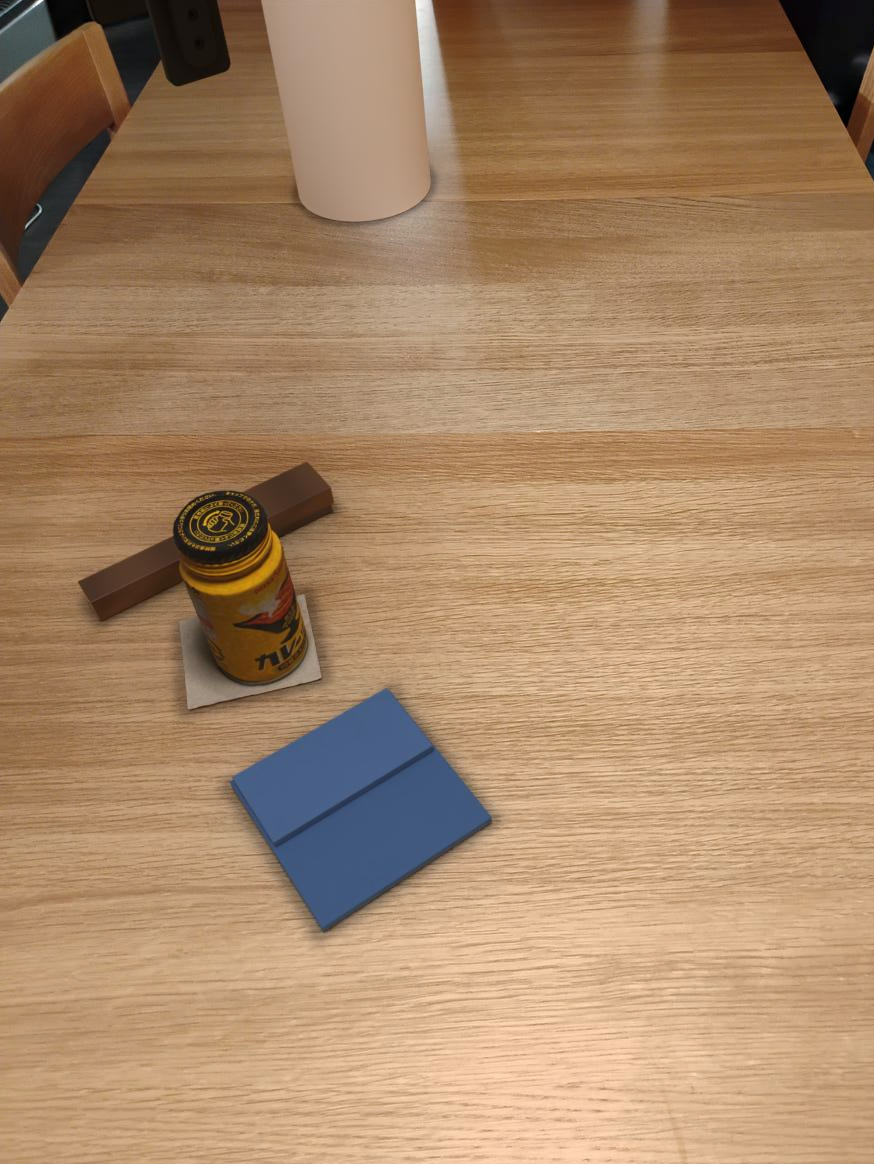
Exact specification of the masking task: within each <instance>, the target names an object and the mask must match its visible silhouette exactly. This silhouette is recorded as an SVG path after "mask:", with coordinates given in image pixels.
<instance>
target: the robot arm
mask: <svg viewBox="0 0 874 1164" xmlns="http://www.w3.org/2000/svg"><path fill="white" fill-rule="evenodd" d="M85 4H86V7H87V10H88V13H89V16H90V18H91V19H92V21H93V22H95V23H96V24H97V25H99V26H104V25H105V26H106V25H108V24H110V23H114V22H118V21H122V20H125V19H128V18H132V17H136V16H139V15H143V14H146V13H148V15H149V16H148V17H149V19H150V23H151V27H152V31H153V34H154V39H155V42H156V46H157V50H158V53H159V57H160V61H161V64H162V68H163V72H164V75H165V78H166V80H167V81H168V82H169V83H170V84H171V85H173V86H174V87H182V86H185V85H188V84H192V83H195V82H198V81H202V80H204V79H207V78H211V77H213V76H216V75H220V74H224V73H227V71H229V70H230V68H231V63H232V62H231V58H230V52H229V49H228V48H229V47H228V43H227V40H226V35H225V29H224V26H223V22H222V17H221V13H220V7H219V2H218V0H85Z"/></svg>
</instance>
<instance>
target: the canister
mask: <svg viewBox="0 0 874 1164" xmlns="http://www.w3.org/2000/svg"><path fill="white" fill-rule="evenodd" d="M416 2H417V1H416V0H261V7H262V12H263V17H264V22H265V28H266V33H267V38H268V43H269V48H270V53H271V58H272V63H273V69H274V74H275V79H276V85H277V90H278V95H279V101H280V105H281V110H282V116H283V121H284V126H285V132H286V136H287V142H288V148H289V152H290V157H291V163H292V167H293V173H294V178H295V183H296V189H297V194H298V199H299V201H300V203H301V204H302V205H303V207H304V208H305V209H306V210H307V211H309V212H310V213H312V214H314V215H316V216H319V217H322V218H325V219H329V220H332V221H338V222H339V221H340V222H350V223H351V222H352V223H354V222H355V223H357V222H359V223H360V222H370V221H377V220H382V219H387V218H391V217H394V216H397V215H399V214H402V213H404V212H406V211H408V210H410V209H412V208H414V207H415V206H417V205H418V204H420V203H421V202H422V201H423V200H424V199H425V197H426V196H427V195H428V194H429V192H430V189H431V185H432V184H431V183H432V181H431V168H430V158H429V157H430V156H429V145H428V134H427V122H426V111H425V99H424V87H423V74H422V63H421V50H420V39H419V27H418V16H417V15H418V14H417V3H416Z"/></svg>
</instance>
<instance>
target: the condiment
mask: <svg viewBox="0 0 874 1164" xmlns="http://www.w3.org/2000/svg"><path fill="white" fill-rule="evenodd" d="M243 492H244V491H238V490H232V489H231V490H230V489H229V490H214V491H210V492H206V493H203V494H200V495H198V496H196V497H195V498H193V499H191V500H189V502H188V503H187V504H186V505H185V506H184V507H183V508H182V509H181V510H180V512H179V513H178V514H177V516H176V518H175V519H174V521H173V525H172V536H173V538H174V542H175V545H176V546H177V548H178V554H179V557H180V559H179V570H180V574H181V577H182V579H183V581H182V582H183V584H184V586H185V588H186V593H187V595H188V597H189V599H190V601H191V604H192V606H193V608H194V611H195V613H196V617H191V618H187V619H181V620H178V629H179V636H180V644H181V653H182V662H183V671H184V683H185V693H186V703H187V710H192V709H197V708H200V707H203V706H211V705H214V704H217V703H219V702H220V703H221V702H227V701H230V700H234V699H238V698H244V697H248V696H253V695H259V694H264V693H268V692H272V691H275V690H281V689H285V688H290V687H294V686H297V685H299V684H306V683H311V682H314V681H317V680H319V679H322V672H321V667H320V662H319V661H320V660H319V658H318V652H317V647H316V641H315V638H314V635H313V634H314V633H313V628H312V623H311V619H310V618H311V617H310V614H309V609H308V605H307V600H306V594H299V595H297V593H296V590H295V587H294V584H293V581H292V577H291V576H292V575H291V573H290V570H289V568H290V567H289V566H288V562H287V560H286V556H285V550H284V546H283V544H282V542H281V540H280V538H278V536H277V535H276V533H274V532H273V531H272V530H271V527H270V525H269V523H268V520H267V515H266V513H265V510H264V508H263V507H262V506H261V505H260V504H259V503H258V501H257V500H256V499H254V498H253V497H251V496H249V495H247V494H245V493H243Z"/></svg>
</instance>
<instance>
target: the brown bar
mask: <svg viewBox="0 0 874 1164" xmlns="http://www.w3.org/2000/svg"><path fill="white" fill-rule="evenodd" d="M242 492H243V493H245V494H247V495H249V496H251V497H253V498H254V499H256V500H257V501H258V503H259V504H260V505H261V506H262V507H263V508H264V510H265V513H266V515H267V520H268V523H269V525H270V527H271V530H272V531H273V532H274V533H276V535H277V536H278V538H279V539H280V538H281V537H284V536H286V535H288V534H290V533H292V532H294V531H296V530H298V529H300V528H302V527H304V526H306V525H308V524H310V523H312V522H314V521H316V520H318V519H320V518H322V517H324V516H326V515H328V514H330V513H332V512H333V506H332V505H333V504H335V500H334V496H333V491H332V487H331V486H330V485H329V484H328V483H327V481H326V480H325V479H324V478H323V477H322V476H321V474H320V473H319V472H318V471H317V470H316V469H315V468H314V467H313V466H312V465H311V464H310V462H309V461H304V462H303V463H301V464H299V465H296V466H295V467H292V468H290V469H288V470H286V471H283V472H281V473H279V474H278V475H275V476H273V477H270V478H269V479H267V480H265V481H262V482H261V483H258V484H255V485H254V486H252V487H250V488H248V489H246V490H244V491H242ZM179 559H180V557H179V554H178V548H177V546H176V545H175V542H174V538H173V535H172V536H170V537H168V538H166V539H163V540H162V541H160V542H158V543H155V544H152V545H151V546H149V547H147V548H145V549H143V550H140V551H138V552H136V553H135V554H132V555H130V556H128V557H126V558H124V559H122V560H120V561H118V562H115V563H114V564H111V565H109V566H107V567H105V568H104V569H103V568H102V569H101V570H98V571H97V572H95V573H92V574H90V575H88V576H86V577H84V578H82V579H80V580H78V581H77V583H78V585H79V587H80V589H81V592H82V593H83V595H84V597H85V598H86V600H87V602H88V604H89V605H90V607H91V609H92V610H93V612H94V614H95V615H96V617H97V619H98V621H100V622H103V621H105V620H106V619H109V618H111V617H113V616H115V615H117V614H119V613H121V612H123V611H125V610H127V609H129V608H131V607H133V606H135V605H137V604H139V603H141V602H143V601H145V600H147V599H149V598H151V597H153V596H156V595H158V594H159V593H162V592H163V591H165V590H168V589H169V588H172V587H173V586H176V585H177V584H179V583H181V582H183V579H182V577H181V574H180V570H179Z"/></svg>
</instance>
